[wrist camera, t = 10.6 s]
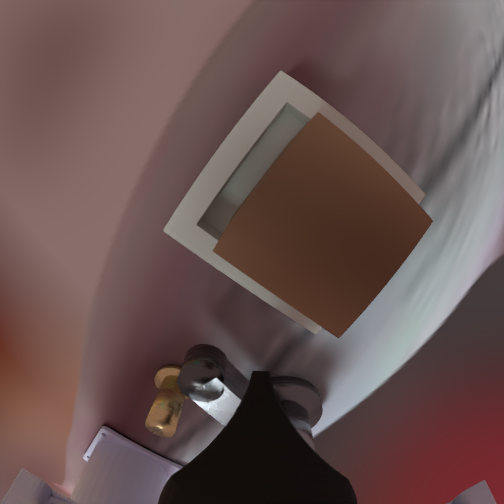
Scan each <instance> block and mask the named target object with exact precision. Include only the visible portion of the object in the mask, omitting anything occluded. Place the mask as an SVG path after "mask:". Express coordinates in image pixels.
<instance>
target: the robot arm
mask: <svg viewBox="0 0 504 504" xmlns="http://www.w3.org/2000/svg"><path fill="white" fill-rule="evenodd" d="M83 458H84V460H86V461H87V464H86V466H85V468H84V470H83V472H82V474H81V476H80V478H79V480H78V482H77V484H76V486H75V488H74V490H73V492H72V495H71V497H70V499H69V498H67V497H65V496H63V495H61V494H59V493H57V492H55V491H54V490H52V489H51V487H50V486H49V485H48V484H47V483H45V482H44V481H43V480H41V479H40V478H38V477H37V476H35V475H33V474H31V473H30V472H28V471H27V470H25V469H21V471H20V472H19V474H18V476H17V477H16V479H15V480H14V482H13V484H12V486H11V487H10V489H9V490H8V492H7V494H6V496H5V497H4V499H3V501H2V504H357V498H356V495H355V493H354V490H353V488H352V486H351V484H350V482H349V480H348V479H347V478H346V477H345V476H343V475H341V474H340V473H339V472H338V471H336V470H335V469H334V468H332V467H331V466H330V465H329V464H328V463H327V462H325V461H324V460H323V459H322V458H321V457H320V456H319V455H318V454H317V453H316V452H315V451H314V450H313V449H312V448H311V447H310V446H309V445H308V443H307V442H306V441H305V440H304V439H303V437H302V436H301V435H300V434H299V432H298V431H297V430H296V428H295V427H294V425H293V424H292V422H291V421H290V419H289V418H288V416H287V414H286V413H285V411H284V409H283V407H282V405H281V403H280V401H279V399H278V397H277V395H276V392H275V390H274V387H273V385H272V381H271V378H270V373H269V371H253V373H252V375H251V379H250V383H249V385H248V388H247V390H246V392H245V394H244V396H243V398H242V400H241V402H240V404H239V406H238V408H237V409H236V411H235V413H234V414H233V416H232V417H231V419H230V420H229V422H228V423H227V424H226V426H225V427H224V428H223V430H222V431H221V432H220V433H219V435H218V436H217V437H216V438H215V439H214V440H213V441H212V442H211V443H210V445H209V446H208V447H207V448H206V449H204V450H203V451H202V452H201V453H200V454H199V455H198V456H197V457H195V458H194V459H193V460H192V461H191V462H189V463H188V464H187V465H185V466H184V467H183V466H181V465H178V464H176V463H174V462H172V461H169V460H167V459H165V458H163V457H161V456H159V455H157V454H155V453H153V452H151V451H149V450H147V449H145V448H143V447H141V446H139V445H137V444H136V443H134V442H132V441H130V440H128V439H127V438H125V437H123V436H122V435H120V434H118V433H117V432H115V431H113V430H112V429H110V428H108V427H106V426H102V427H101V429H100V430H99V432H98V434H97V435H96V437H95V438H94V440H93V442H92V443H91V445H90V446H89V448H88V450H87V451H86V453H85V454H84V456H83ZM447 504H496V502H495V500H494V498H493V496H492V494H491V492H490V490H489V488H488V486H487V484H486V482H485V481H482V482H480V483H478V484H476V485H474V486H472V487H471V488H469V489H467V490H465V491H464V492H462V493H461V494H459V495H458V496H457V497H456V498H455V499H454V500H453V501H451V502H449V503H447Z"/></svg>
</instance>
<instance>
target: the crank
mask: <svg viewBox="0 0 504 504" xmlns="http://www.w3.org/2000/svg"><path fill="white" fill-rule="evenodd" d="M249 383H250V381H249V380H248V379H247V378H245V377H244V376H243V375H242V374H241V373H240V372H239V371H238V370H237V369H236V368H235V367H234V366H233V365H232V364H231V363H230V362H229V361H228V360H227V357H226V355H225V354H224V353H223V352H222V351H221V350H220V349H218V348H217V347H215V346H212V345H208V344H199V345H196V346H193V347H192V348H190V349H189V350H188V352H187V354H186V356H185V359H184V362H183V365H182V367H181V370H180V373H179V375H178V378H177V385H178V388H179V389H180V391H181V392H182V393H183V394H184V395H185V396H186V397H188V398H190V399H192V400H193V401H194V402H195V403H197V404H198V405H199V406H200V407H201V408H203V409H204V410H205V411H206V412H207V413H209V414H210V415H211V416H212V417H214V418H215V419H216V420H217V421H219V422H220V423H221V424H222V425H224V426H226V424H227V423H228V422H229V420H230V419H231V417H232V416H233V414H234V413H235V411H236V409H237V408H238V406H239V404H240V402H241V400H242V398H243V396H244V394H245V392H246V390H247V388H248V385H249ZM280 403H281V405H282V407H283V409H284V411H285V413H286V414H287V416H288V418H289V419H290V421H291V422H292V424H293V425H294V427H295V428H296V430H297V431H298V432H299V434H300V435H301V436H302V437H303V439H304V440H305V441H306V442H307V443H308V445H309V446H310V447H311V448H312V449H313V450H314V451H315V447H314V441H313V436H312V431H311V425H310V420H309V415H308V412H307V410H306V409H305V408H304V407H303V406H301V405H299V404H296V403H292V402H280Z"/></svg>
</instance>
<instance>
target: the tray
mask: <svg viewBox="0 0 504 504" xmlns="http://www.w3.org/2000/svg"><path fill="white" fill-rule="evenodd" d="M318 112H319V113H321V114H322V115H323V116H324V117H326V118H327V119H328V120H330V121H331V122H332V123H333V124H334V125H336V126H337V127H338V128H339V129H341V130H342V131H343V132H344V133H345V134H347V135H348V136H349V137H350V138H351V139H352V140H354V141H355V142H356V143H357V144H358V145H359V146H360V147H361V148H363V149H364V150H365V151H366V152H367V153H368V154H369V155H370V156H371V157H372V158H374V159H375V160H376V161H377V162H378V163H379V164H380V165H381V166H382V167H383V168H384V169H385V170H386V171H387V172H388V173H389V174H390V175H391V176H392V177H393V178H394V179H395V180H396V181H397V182H398V183H399V184H400V185H401V186H402V187H403V188H404V189H405V190H406V191H407V192H408V193H409V194H410V196H411V197H412V198H413V199H414V200H415V201H416V202H417V203H418V204H420V203H421V201H422V200H423V198H424V196H425V195H426V194H425V193H424V192H423V191H422V190H421V189H420V187H419V186H418V185H417V184H416V183H415V182H414V181H413V180H412V179H411V178H410V177H409V176H408V175H407V174H406V173H405V172H404V170H403V169H402V168H401V167H400V166H399V165H398V164H397V163H396V162H395V161H394V160H393V159H392V158H390V157H389V156H388V155H387V154H386V153H385V152H384V151H383V150H382V149H381V148H380V147H379V146H378V145H377V144H376V143H375V142H373V141H372V140H371V139H370V138H369V137H368V136H367V135H366V134H364V133H363V132H362V131H361V130H360V129H359V128H358V127H356V126H355V125H354V124H353V123H352V122H350V121H349V120H348V119H347V118H346V117H344V116H343V115H342V114H341V113H339V112H338V111H337V110H336V109H334V108H333V107H332V106H331V105H329V104H328V103H327V102H325V101H324V100H323V99H321V98H320V97H319V96H317V95H316V94H315V93H313V92H312V91H310V90H309V89H308V88H306V87H305V86H303V85H302V84H300V83H299V82H298V81H296V80H295V79H293V78H292V77H290V76H289V75H287V74H286V73H284V72H282V71H280V72H279V73H278V74H277V75H276V76H275V77H274V79H273V80H272V81H271V82H270V83H269V84H268V86H267V87H266V88H265V89H264V90H263V92H262V93H261V94H260V95H259V96H258V98H257V99H256V100H255V101H254V103H253V104H252V105H251V106H250V108H249V109H248V110H247V111H246V113H245V114H244V115H243V116H242V118H241V119H240V120H239V122H238V123H237V124H236V125H235V127H234V128H233V129H232V131H231V132H230V133H229V135H228V136H227V137H226V139H225V140H224V141H223V143H222V144H221V145H220V147H219V148H218V149H217V151H216V152H215V154H214V155H213V156H212V158H211V159H210V161H209V162H208V163H207V165H206V166H205V168H204V169H203V170H202V172H201V173H200V175H199V176H198V178H197V179H196V181H195V182H194V183H193V185H192V186H191V188H190V189H189V191H188V192H187V194H186V195H185V197H184V198H183V200H182V201H181V203H180V204H179V206H178V208H177V209H176V211H175V212H174V214H173V215H172V217H171V218H170V220H169V222H168V223H167V225H166V226H165V228H164V230H163V231H164V232H165V233H167V234H168V235H170V236H171V237H172V238H174V239H175V240H177V241H178V242H179V243H181V244H182V245H184V246H185V247H186V248H188V249H189V250H191V251H192V252H193V253H195V254H196V255H198V256H199V257H201V258H202V259H203V260H205V261H206V262H208V263H209V264H211V265H212V266H213V267H215V268H216V269H218V270H219V271H221V272H222V273H224V274H225V275H226V276H228V277H229V278H231V279H232V280H234V281H235V282H237V283H238V284H240V285H241V286H243V287H244V288H246V289H247V290H249V291H250V292H251V293H253V294H254V295H256V296H257V297H259V298H260V299H262V300H263V301H265V302H266V303H268V304H269V305H271V306H272V307H274V308H275V309H277V310H279V311H280V312H282V313H283V314H285V315H286V316H288V317H289V318H291V319H292V320H294V321H295V322H297V323H298V324H300V325H302V326H303V327H305V328H306V329H308V330H309V331H311V332H312V333H314V334H317V333H318V332H319V331H320V330H321V329H322V327H321V326H319V325H318V324H317V323H315V322H314V321H312V320H311V319H309V318H308V317H306V316H305V315H303V314H302V313H300V312H299V311H297V310H296V309H294V308H293V307H292V306H290V305H289V304H287V303H286V302H284V301H283V300H281V299H280V298H278V297H277V296H276V295H274V294H273V293H271V292H270V291H268V290H267V289H265V288H264V287H263V286H261V285H260V284H258V283H257V282H255V281H254V280H252V279H251V278H250V277H248V276H247V275H245V274H244V273H242V272H241V271H240V270H238V269H237V268H235V267H234V266H233V265H231V264H230V263H228V262H227V261H225V260H224V259H223V258H221V257H220V256H218V255H217V254H216V253H214V252H213V249H214V247H215V245H216V244H217V242H218V240H219V239H220V237H221V235H222V234H223V232H224V230H225V229H226V227H227V225H228V224H229V222H230V220H231V219H232V217H233V215H234V214H235V213H236V211H237V210H238V209H239V207H240V206H241V205H242V203H243V202H244V200H245V199H246V198H247V196H248V195H249V194H250V192H251V191H252V190H253V188H254V187H255V186H256V184H257V183H258V182H259V181H260V179H261V178H262V177H263V175H264V174H265V173H266V171H267V170H268V169H269V167H270V166H271V165H272V164H273V162H274V161H275V160H276V158H277V157H278V156H279V154H280V153H281V152H282V151H283V149H284V148H285V147H286V145H287V144H288V143H289V142H290V141H291V140H292V139H293V138H294V137H295V135H296V134H297V133H298V132H299V131H300V130H301V129H302V128H303V127H304V126H305V125H306V124H307V123H308V122H309V121H310V120H311V119H312V118H313V117H314V116H315V115H316V114H317V113H318Z"/></svg>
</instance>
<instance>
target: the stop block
mask: <svg viewBox="0 0 504 504" xmlns="http://www.w3.org/2000/svg"><path fill="white" fill-rule="evenodd" d="M432 222H433V220H432V219H431V218H430V217H429V216H428V214H427V213H426V212H425V211H424V210H423V209H422V208H421V207H420V205H419V204H418V203H417V202H416V201H415V200H414V199H413V198H412V197H411V196H410V194H409V193H408V192H407V191H406V190H405V189H404V188H403V187H402V186H401V185H400V184H399V183H398V182H397V181H396V180H395V179H394V178H393V177H392V176H391V175H390V174H389V173H388V172H387V171H386V170H385V169H384V168H383V167H382V166H381V165H380V164H379V163H378V162H377V161H376V160H375V159H374V158H372V157H371V156H370V155H369V154H368V153H367V152H366V151H365V150H364V149H363V148H361V147H360V146H359V145H358V144H357V143H356V142H355V141H354V140H352V139H351V138H350V137H349V136H348V135H347V134H345V133H344V132H343V131H342V130H341V129H339V128H338V127H337V126H336V125H334V124H333V123H332V122H331V121H330V120H328V119H327V118H326V117H324V116H323V115H322V114H321V113H319V112H318V113H317V114H316V115H315V116H314V117H313V118H312V119H311V120H310V121H309V122H308V123H307V124H306V125H305V126H304V127H303V128H302V129H301V130H300V131H299V132H298V133H297V134H296V135H295V137H294V138H293V139H292V140H291V141H290V142H289V143H288V144H287V145H286V147H285V148H284V149H283V151H282V152H281V153H280V154H279V156H278V157H277V158H276V160H275V161H274V162H273V164H272V165H271V166H270V167H269V169H268V170H267V171H266V173H265V174H264V175H263V177H262V178H261V179H260V181H259V182H258V183H257V184H256V186H255V187H254V188H253V190H252V191H251V192H250V194H249V195H248V196H247V198H246V199H245V200H244V202H243V203H242V205H241V206H240V207H239V209H238V210H237V211H236V213H235V214H234V215H233V217H232V219H231V220H230V222H229V224H228V225H227V227H226V229H225V230H224V232H223V234H222V235H221V237H220V239H219V240H218V242H217V244H216V245H215V247H214V249H213V252H214V253H216V254H217V255H218V256H220V257H221V258H223V259H224V260H225V261H227V262H228V263H230V264H231V265H233V266H234V267H235V268H237V269H238V270H240V271H241V272H242V273H244V274H245V275H247V276H248V277H250V278H251V279H252V280H254V281H255V282H257V283H258V284H260V285H261V286H263V287H264V288H265V289H267V290H268V291H270V292H271V293H273V294H274V295H276V296H277V297H278V298H280V299H281V300H283V301H284V302H286V303H287V304H289V305H290V306H292V307H293V308H294V309H296V310H297V311H299V312H300V313H302V314H303V315H305V316H306V317H308V318H309V319H311V320H312V321H314V322H315V323H317V324H318V325H319V326H321V327H322V328H324V329H325V330H327V331H328V332H330V333H331V334H333V335H334V336H336V337H337V338H340V336H341V335H342V334H343V333H344V332H345V331H346V330H347V329H348V328H349V327H350V326H351V325H352V324H353V322H354V321H355V320H356V319H357V318H358V317H359V316H360V315H361V314H362V312H363V311H364V310H365V309H366V308H367V307H368V306H369V304H370V303H371V302H372V301H373V300H374V299H375V297H376V296H377V295H378V294H379V293H380V291H381V290H382V289H383V288H384V287H385V285H386V284H387V283H388V282H389V280H390V279H391V278H392V277H393V275H394V274H395V273H396V272H397V270H398V269H399V268H400V266H401V265H402V264H403V262H404V261H405V260H406V259H407V257H408V256H409V255H410V253H411V252H412V250H413V249H414V248H415V246H416V245H417V244H418V242H419V241H420V239H421V238H422V237H423V235H424V234H425V232H426V231H427V229H428V228H429V226H430V225H431V223H432Z"/></svg>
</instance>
